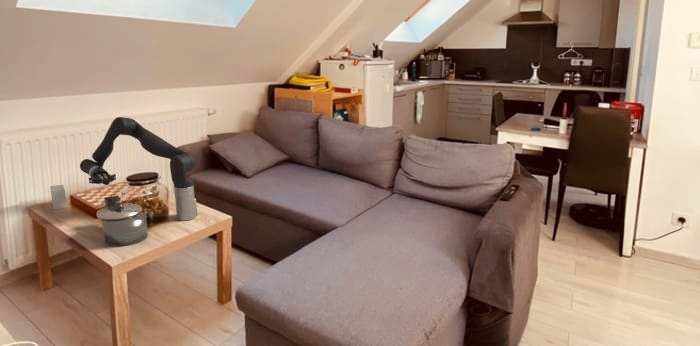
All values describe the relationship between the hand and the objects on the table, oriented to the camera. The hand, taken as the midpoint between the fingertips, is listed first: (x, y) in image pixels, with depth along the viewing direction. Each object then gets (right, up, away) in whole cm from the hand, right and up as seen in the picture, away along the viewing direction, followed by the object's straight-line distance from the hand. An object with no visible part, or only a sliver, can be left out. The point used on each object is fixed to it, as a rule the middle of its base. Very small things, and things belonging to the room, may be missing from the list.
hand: (107, 182), depth 226 cm
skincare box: (-39, -13, +25) cm, 48 cm away
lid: (+10, -13, -9) cm, 19 cm away
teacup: (0, -12, +32) cm, 34 cm away
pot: (+16, -25, -13) cm, 32 cm away
